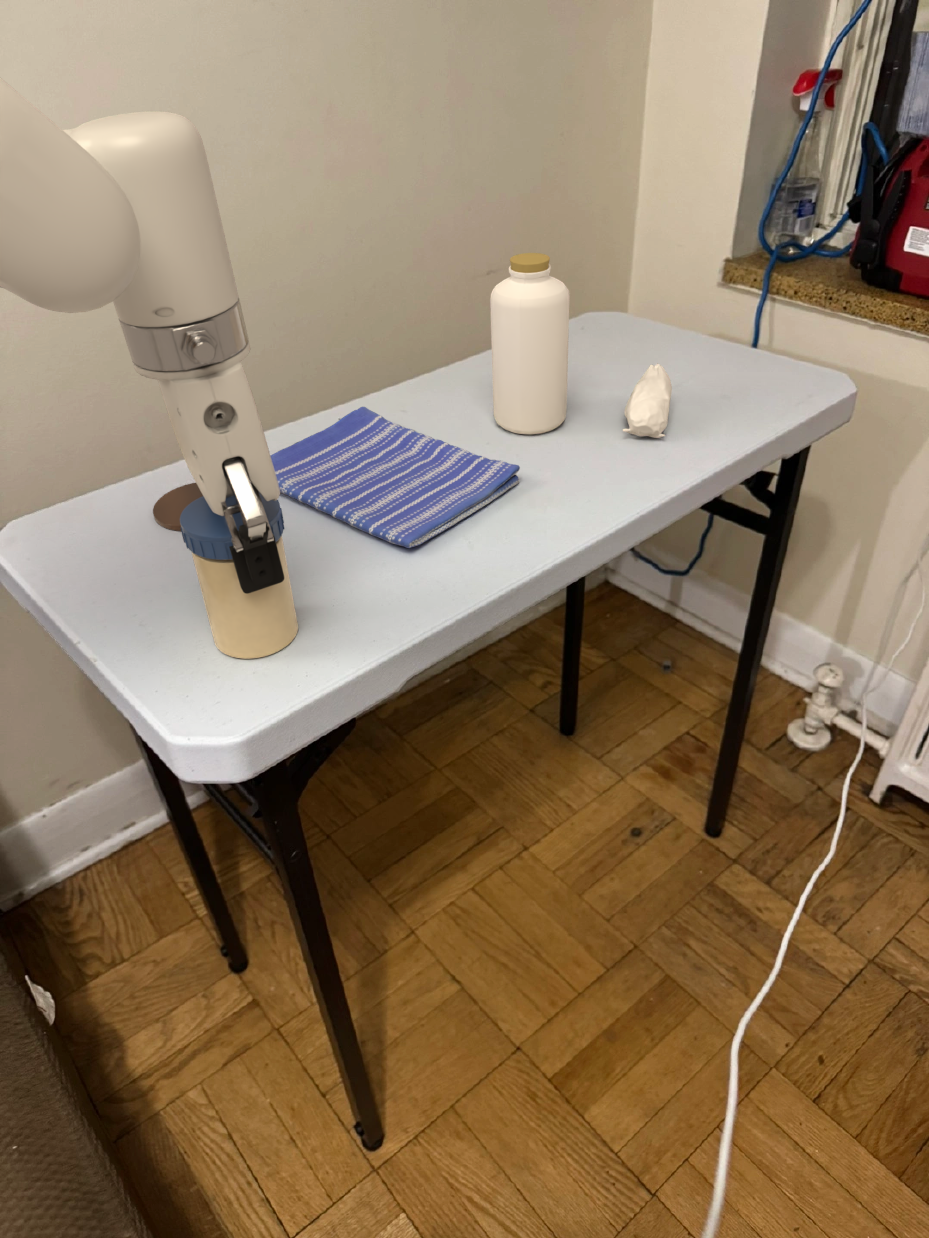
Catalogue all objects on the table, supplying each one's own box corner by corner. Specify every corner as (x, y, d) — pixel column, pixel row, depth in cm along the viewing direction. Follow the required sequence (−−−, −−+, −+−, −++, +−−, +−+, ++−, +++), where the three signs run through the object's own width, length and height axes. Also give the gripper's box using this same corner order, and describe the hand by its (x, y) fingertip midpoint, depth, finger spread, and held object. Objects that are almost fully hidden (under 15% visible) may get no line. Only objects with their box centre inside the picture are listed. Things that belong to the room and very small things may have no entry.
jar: (226, 669, 67) (197, 554, 61) (204, 623, 72) (176, 512, 66) (309, 642, 70) (290, 528, 63) (283, 599, 74) (262, 490, 68)
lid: (297, 543, 64) (293, 521, 63) (197, 570, 61) (191, 548, 60) (267, 500, 69) (264, 479, 68) (174, 524, 66) (169, 502, 65)
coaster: (165, 541, 83) (163, 535, 82) (146, 500, 89) (144, 495, 89) (255, 514, 86) (254, 509, 85) (231, 477, 92) (230, 472, 92)
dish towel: (365, 423, 101) (362, 401, 99) (525, 482, 88) (525, 457, 86) (247, 482, 91) (242, 458, 89) (408, 558, 78) (405, 531, 77)
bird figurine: (620, 416, 102) (620, 434, 93) (636, 358, 99) (637, 371, 90) (662, 425, 102) (665, 444, 93) (678, 367, 99) (683, 381, 90)
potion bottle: (519, 401, 104) (517, 243, 93) (579, 416, 100) (585, 253, 89) (479, 427, 99) (473, 264, 88) (541, 444, 95) (543, 275, 84)
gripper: (284, 365, 51) (333, 603, 62) (210, 287, 63) (262, 497, 74) (156, 397, 48) (231, 638, 60) (106, 310, 61) (176, 523, 72)
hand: (248, 558), depth 67 cm, fingers closed on lid, 7 cm apart
